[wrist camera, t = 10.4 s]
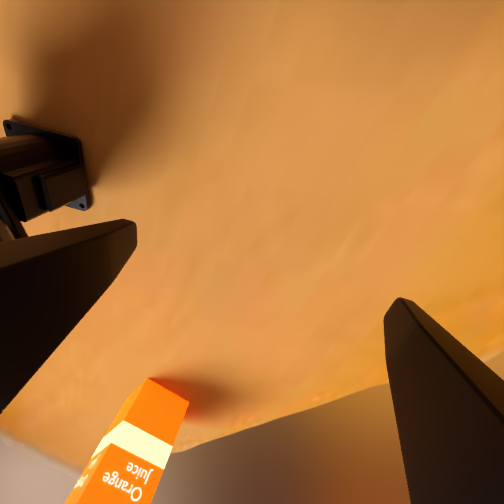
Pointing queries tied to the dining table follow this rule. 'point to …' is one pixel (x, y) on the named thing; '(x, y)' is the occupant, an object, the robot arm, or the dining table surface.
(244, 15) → the dining table surface
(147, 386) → the orange juice
